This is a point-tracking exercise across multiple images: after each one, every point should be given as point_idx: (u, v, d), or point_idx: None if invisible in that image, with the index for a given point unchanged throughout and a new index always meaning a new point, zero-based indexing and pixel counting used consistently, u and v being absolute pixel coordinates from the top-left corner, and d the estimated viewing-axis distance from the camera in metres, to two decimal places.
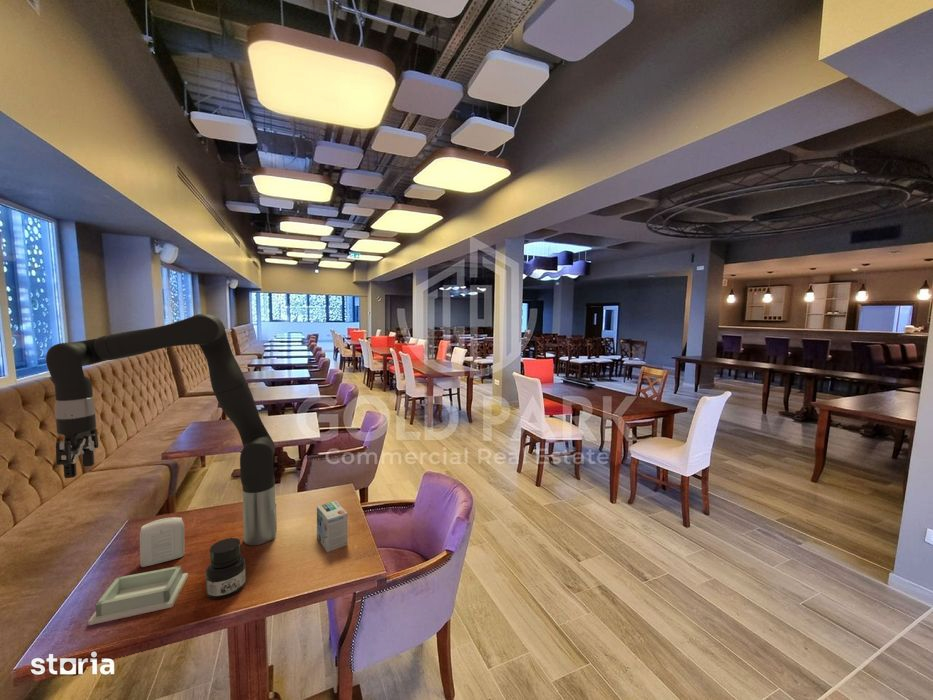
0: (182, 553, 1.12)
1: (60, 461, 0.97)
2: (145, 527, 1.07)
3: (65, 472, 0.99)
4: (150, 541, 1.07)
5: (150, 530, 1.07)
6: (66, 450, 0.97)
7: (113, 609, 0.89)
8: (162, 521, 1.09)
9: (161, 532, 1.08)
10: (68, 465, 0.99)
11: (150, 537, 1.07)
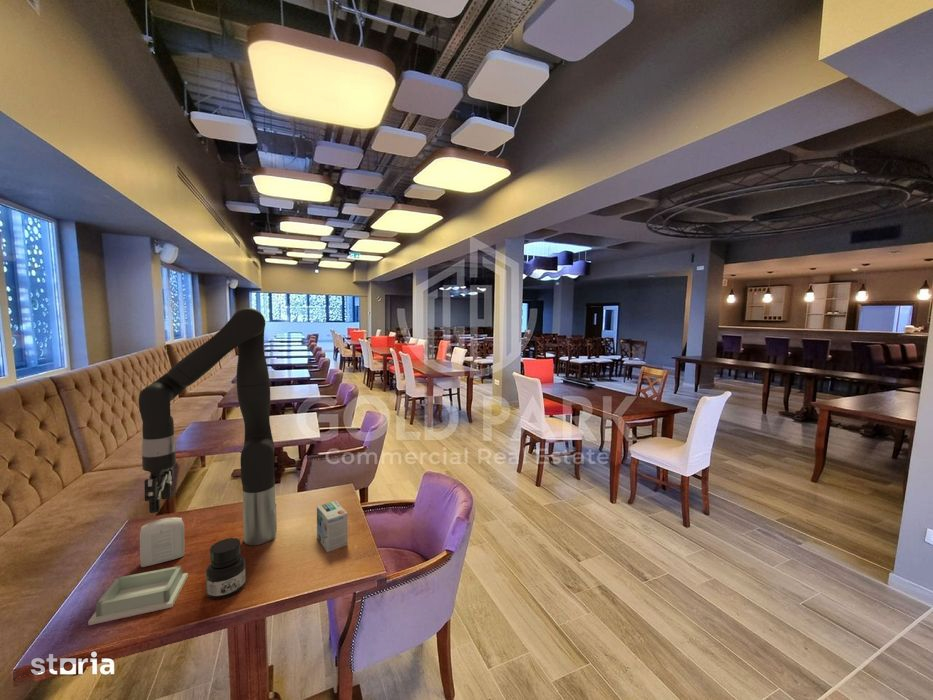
0: (182, 553, 1.12)
1: (148, 498, 1.02)
2: (145, 527, 1.07)
3: (151, 507, 1.04)
4: (150, 541, 1.07)
5: (150, 530, 1.07)
6: (153, 487, 1.02)
7: (113, 609, 0.89)
8: (162, 521, 1.09)
9: (161, 533, 1.08)
10: (154, 501, 1.04)
11: (150, 537, 1.07)
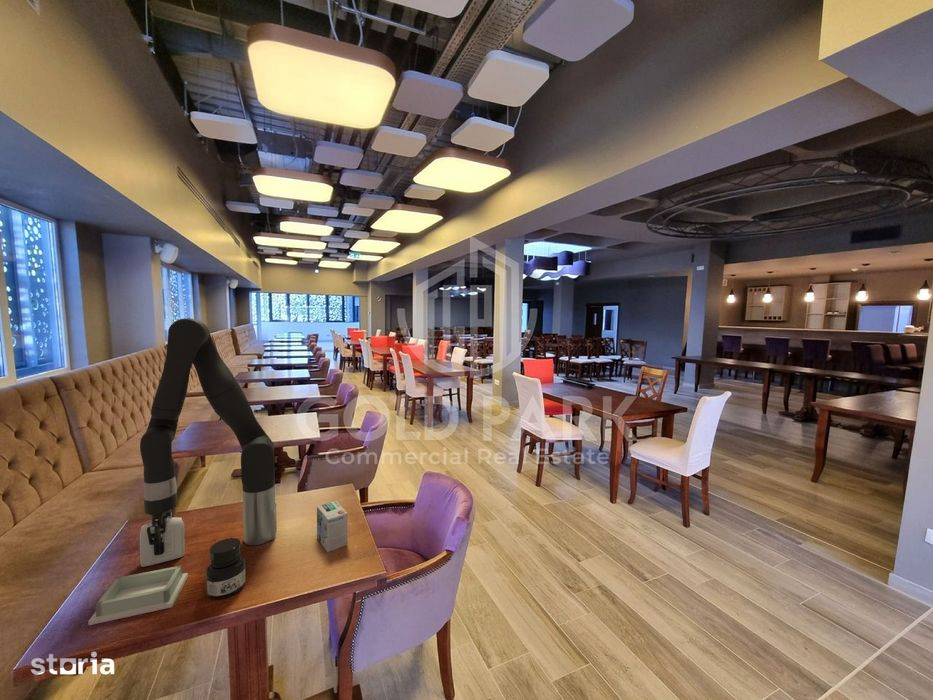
0: (182, 553, 1.12)
1: (152, 542, 1.05)
2: (145, 527, 1.07)
3: (155, 550, 1.06)
4: None
5: None
6: (156, 534, 1.04)
7: (113, 609, 0.89)
8: None
9: None
10: (158, 544, 1.06)
11: None
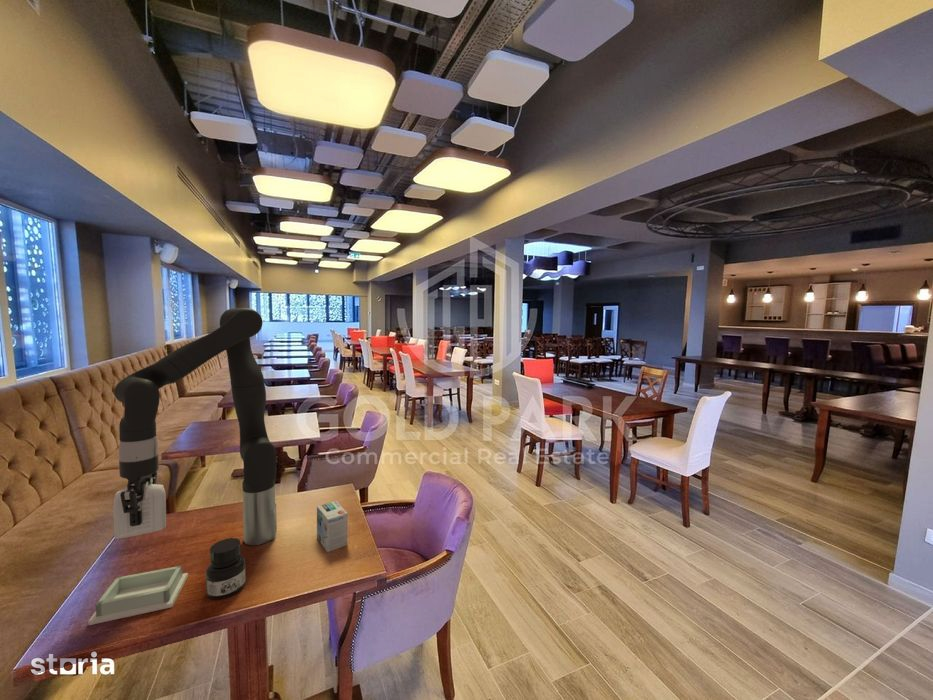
0: (163, 525, 0.97)
1: (127, 510, 0.90)
2: (120, 493, 0.93)
3: (131, 520, 0.92)
4: None
5: None
6: (132, 500, 0.90)
7: (113, 609, 0.89)
8: None
9: None
10: (134, 513, 0.92)
11: None
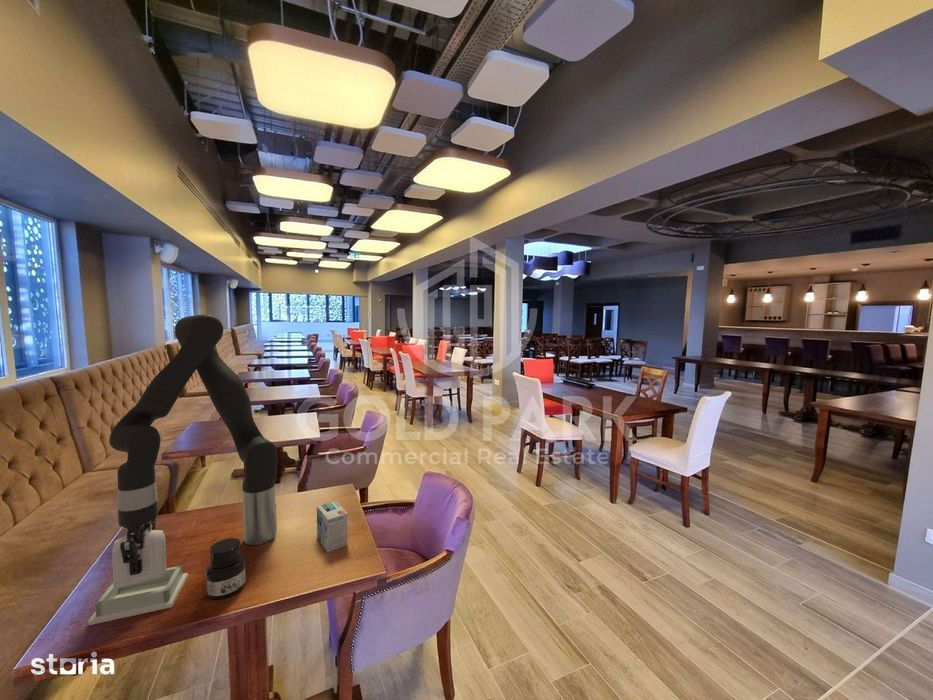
0: (163, 572, 0.96)
1: (127, 560, 0.89)
2: (119, 542, 0.91)
3: (131, 569, 0.91)
4: None
5: None
6: (132, 550, 0.88)
7: (113, 609, 0.89)
8: None
9: None
10: (134, 562, 0.91)
11: None
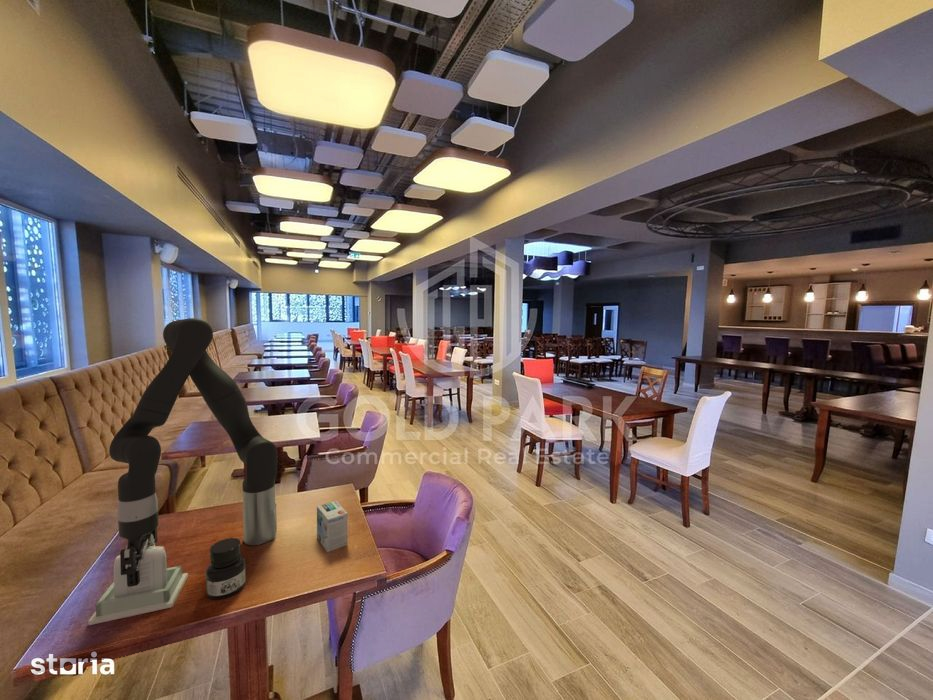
0: (163, 588, 0.96)
1: (124, 571, 0.88)
2: None
3: (129, 581, 0.89)
4: (124, 575, 0.91)
5: None
6: (131, 558, 0.88)
7: (113, 609, 0.89)
8: None
9: None
10: (132, 573, 0.89)
11: None
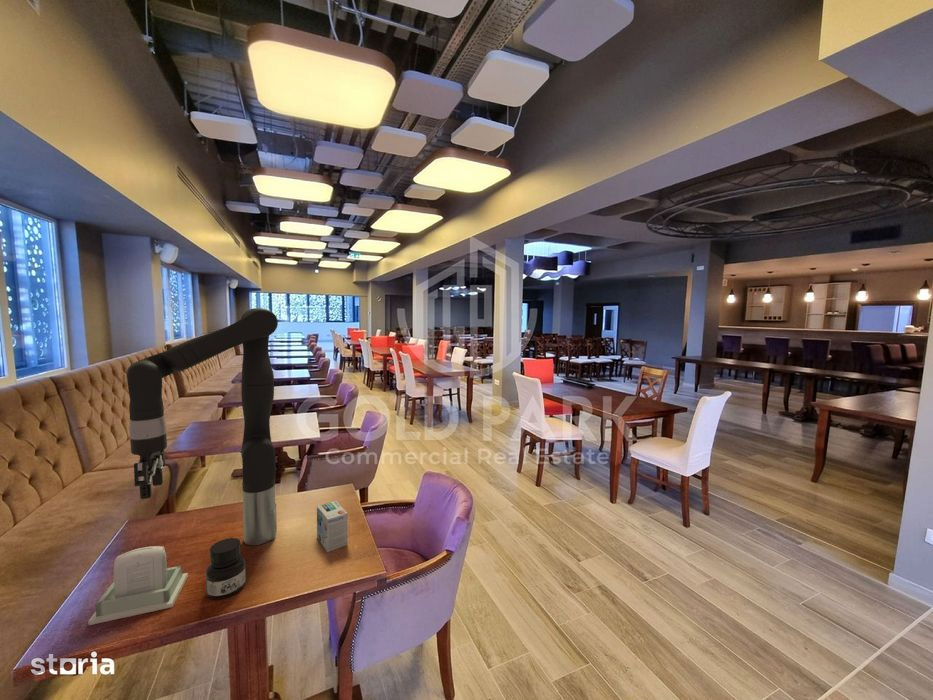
0: (163, 588, 0.96)
1: (138, 482, 0.95)
2: (120, 558, 0.91)
3: (142, 493, 0.97)
4: (125, 575, 0.91)
5: (125, 562, 0.91)
6: (144, 471, 0.96)
7: (113, 609, 0.89)
8: (140, 551, 0.93)
9: (138, 565, 0.92)
10: (145, 486, 0.97)
11: (125, 570, 0.91)
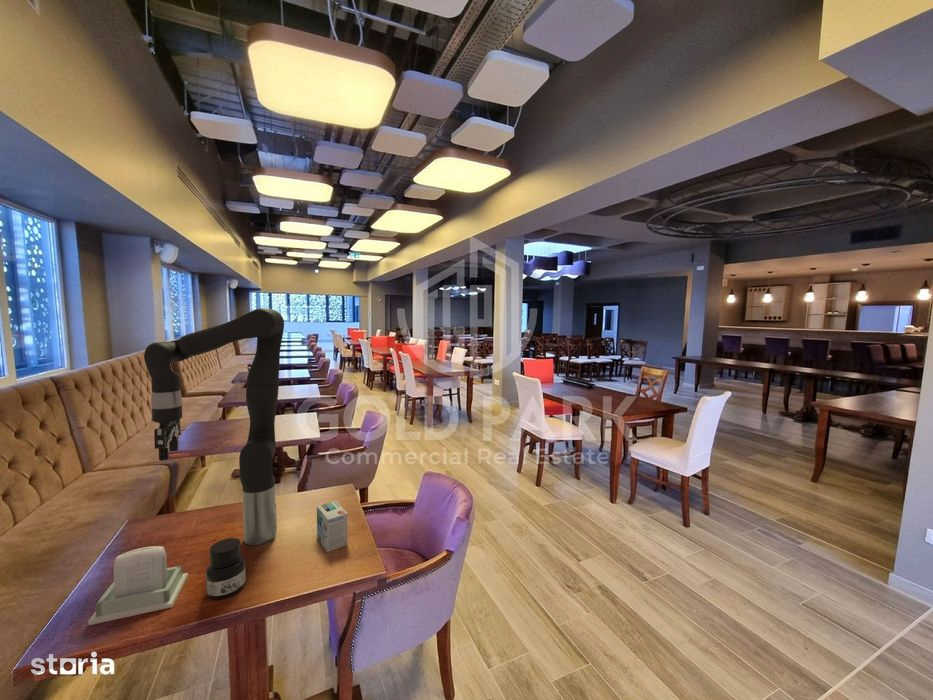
0: (163, 588, 0.96)
1: (157, 445, 1.11)
2: (120, 558, 0.91)
3: (160, 455, 1.13)
4: (125, 575, 0.91)
5: (125, 562, 0.91)
6: (162, 436, 1.11)
7: (113, 609, 0.89)
8: (140, 551, 0.93)
9: (138, 565, 0.92)
10: (163, 449, 1.13)
11: (125, 570, 0.91)
